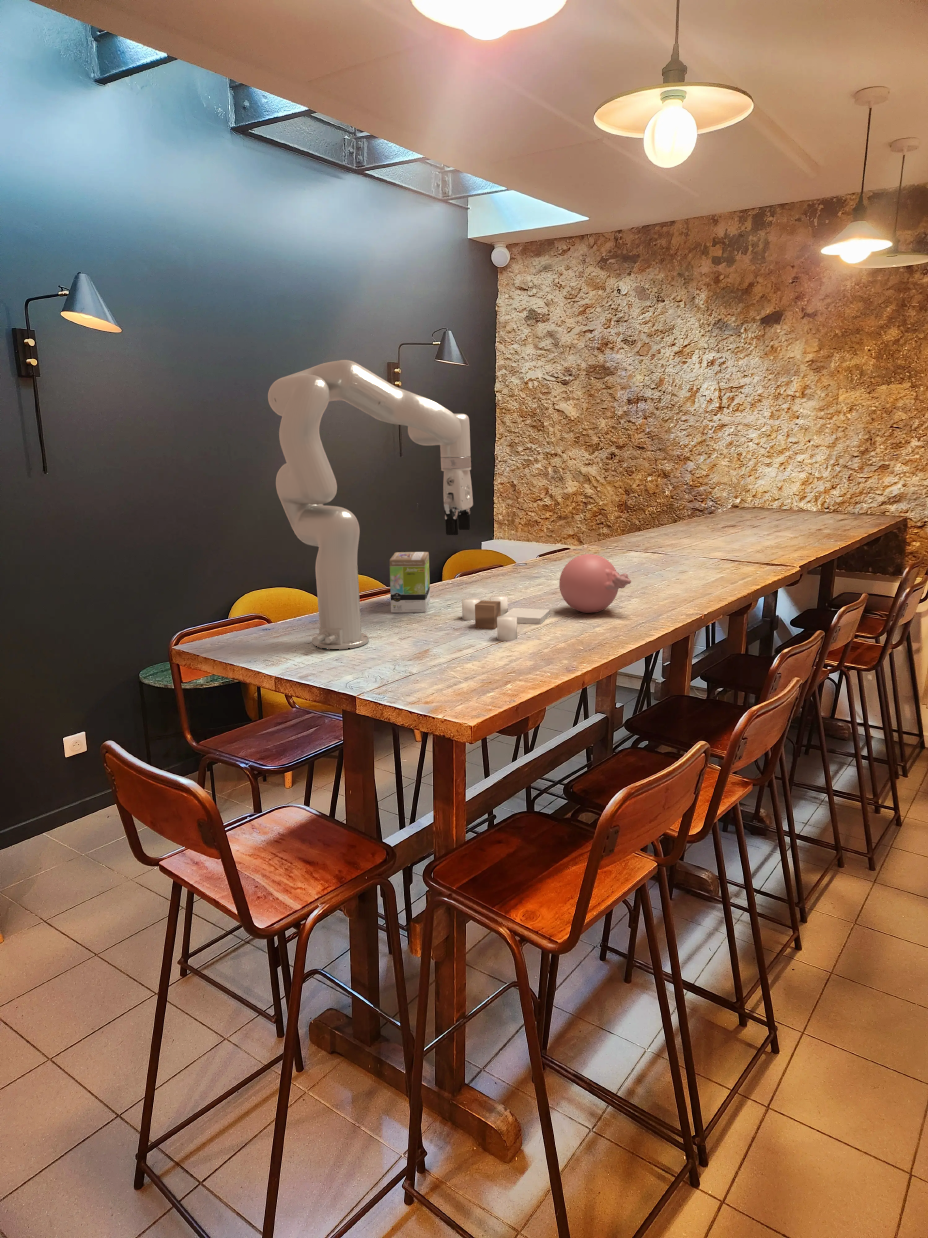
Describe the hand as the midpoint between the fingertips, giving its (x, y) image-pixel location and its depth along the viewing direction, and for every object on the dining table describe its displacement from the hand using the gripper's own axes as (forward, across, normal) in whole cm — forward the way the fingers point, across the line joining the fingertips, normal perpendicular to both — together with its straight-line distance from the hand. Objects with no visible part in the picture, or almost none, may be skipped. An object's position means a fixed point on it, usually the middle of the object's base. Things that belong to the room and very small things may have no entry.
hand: (458, 532), depth 203 cm
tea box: (+22, +7, +17) cm, 29 cm away
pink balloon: (+23, +10, -34) cm, 42 cm away
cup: (+22, -20, -18) cm, 34 cm away
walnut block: (+22, -10, -10) cm, 26 cm away
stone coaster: (+22, 0, -17) cm, 28 cm away
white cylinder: (+22, +2, -10) cm, 24 cm away
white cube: (+22, -2, -3) cm, 23 cm away
